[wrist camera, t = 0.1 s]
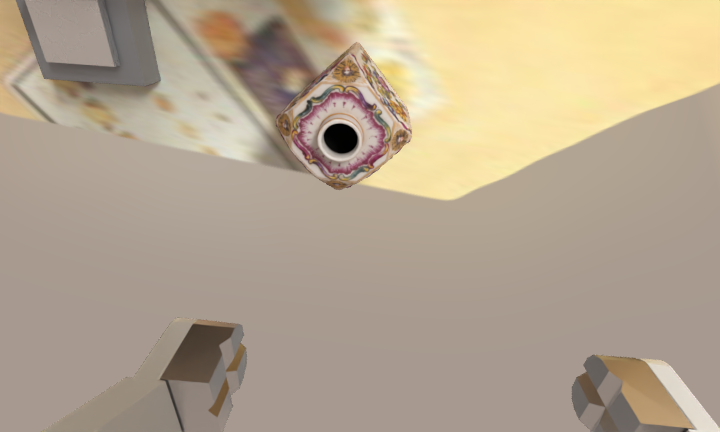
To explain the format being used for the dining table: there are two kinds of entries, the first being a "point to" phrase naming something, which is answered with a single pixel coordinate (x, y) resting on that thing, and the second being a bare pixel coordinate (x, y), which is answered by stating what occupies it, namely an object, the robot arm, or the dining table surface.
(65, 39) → the panel
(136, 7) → the socket
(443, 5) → the dining table surface
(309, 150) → the decorative jar
